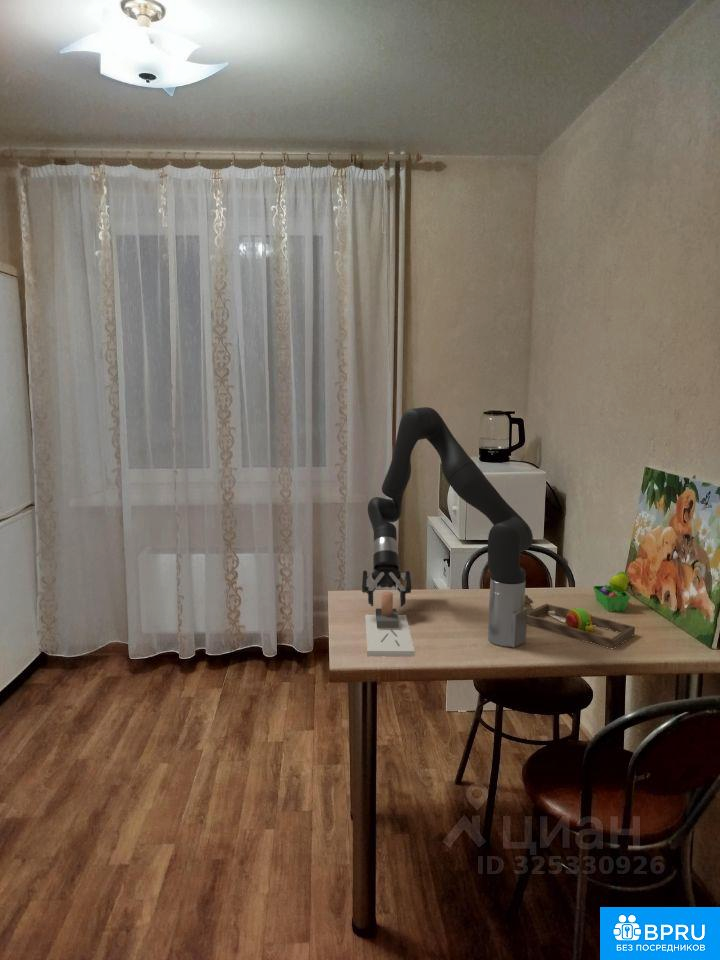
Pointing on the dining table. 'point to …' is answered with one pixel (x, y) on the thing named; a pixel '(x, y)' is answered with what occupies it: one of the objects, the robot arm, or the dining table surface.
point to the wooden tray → (577, 633)
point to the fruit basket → (613, 593)
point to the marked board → (388, 639)
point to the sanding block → (387, 613)
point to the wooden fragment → (526, 604)
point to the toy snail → (576, 619)
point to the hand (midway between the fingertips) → (387, 605)
